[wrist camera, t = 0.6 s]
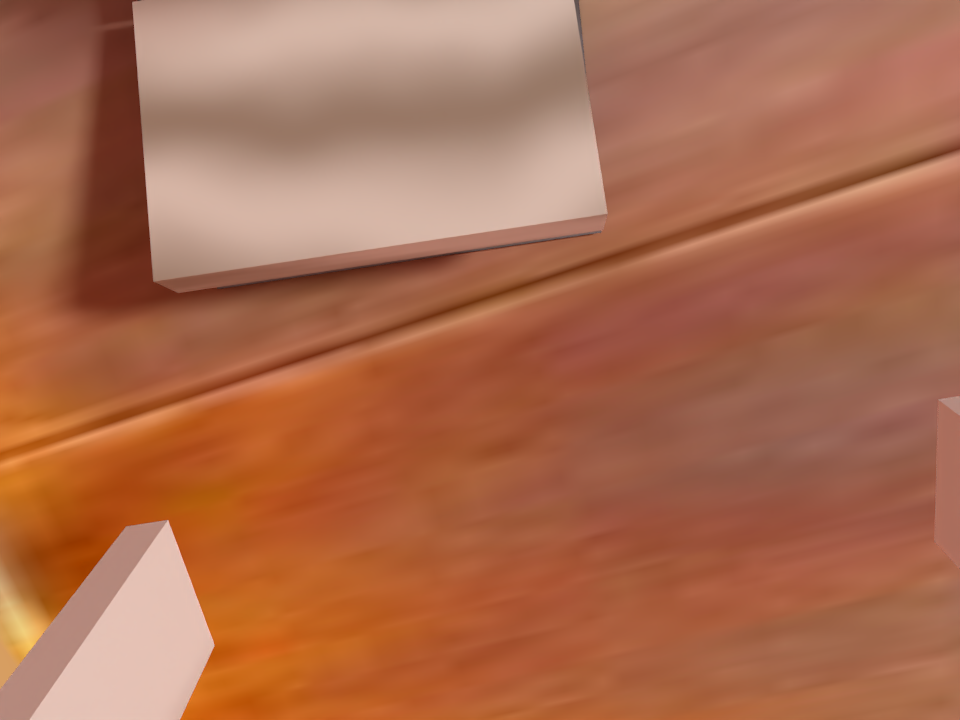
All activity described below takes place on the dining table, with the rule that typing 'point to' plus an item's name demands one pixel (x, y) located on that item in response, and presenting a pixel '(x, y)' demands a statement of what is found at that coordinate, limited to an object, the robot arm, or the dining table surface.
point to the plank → (358, 132)
